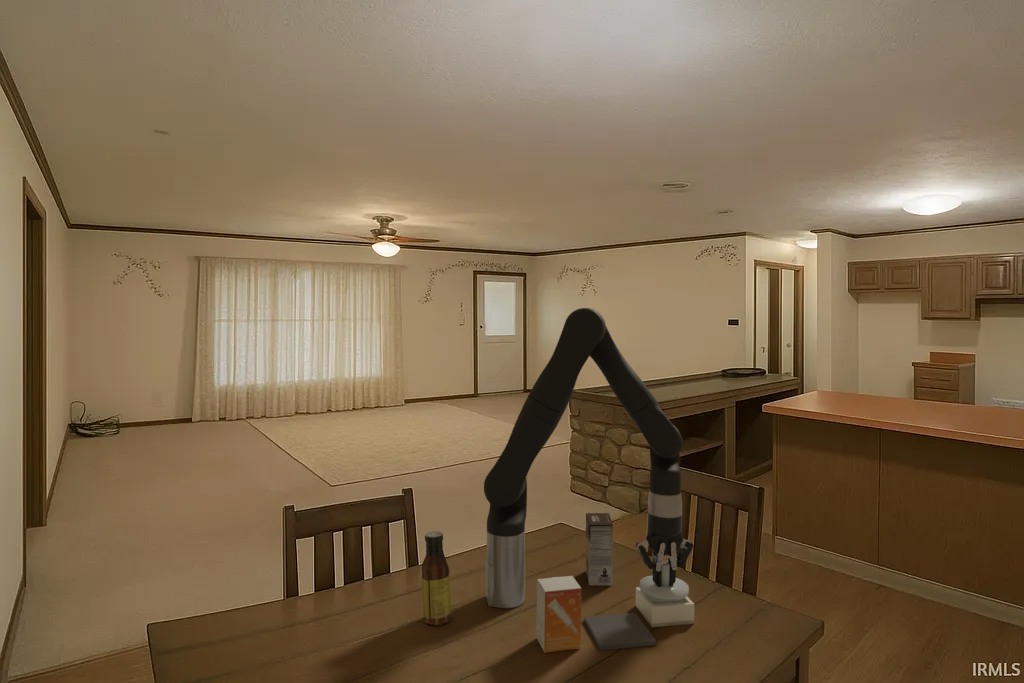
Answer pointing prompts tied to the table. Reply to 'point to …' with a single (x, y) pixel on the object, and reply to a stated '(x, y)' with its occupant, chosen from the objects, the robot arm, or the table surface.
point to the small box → (558, 613)
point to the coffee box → (599, 548)
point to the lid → (664, 586)
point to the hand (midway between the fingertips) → (664, 584)
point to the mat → (619, 631)
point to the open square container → (665, 610)
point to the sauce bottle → (435, 581)
